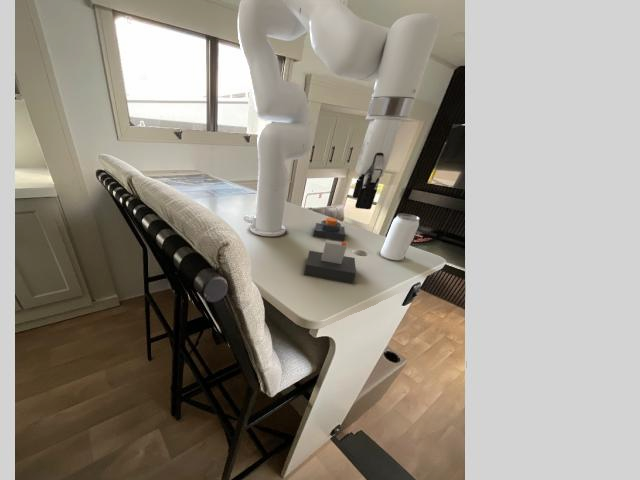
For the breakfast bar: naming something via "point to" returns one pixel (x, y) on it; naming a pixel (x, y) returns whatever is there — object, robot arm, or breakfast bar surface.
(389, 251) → the can
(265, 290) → the breakfast bar surface
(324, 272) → the panel
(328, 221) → the button
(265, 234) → the robot arm
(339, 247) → the timer knob
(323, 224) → the button block
